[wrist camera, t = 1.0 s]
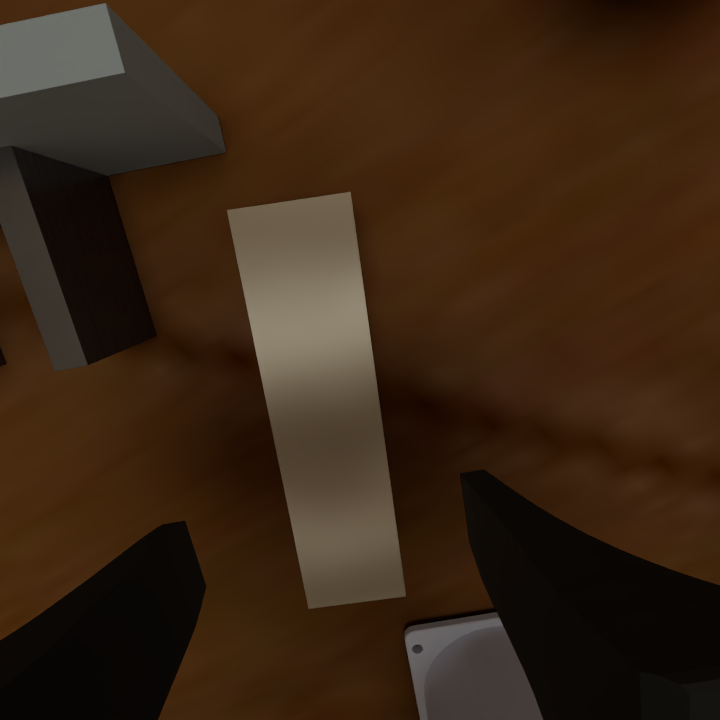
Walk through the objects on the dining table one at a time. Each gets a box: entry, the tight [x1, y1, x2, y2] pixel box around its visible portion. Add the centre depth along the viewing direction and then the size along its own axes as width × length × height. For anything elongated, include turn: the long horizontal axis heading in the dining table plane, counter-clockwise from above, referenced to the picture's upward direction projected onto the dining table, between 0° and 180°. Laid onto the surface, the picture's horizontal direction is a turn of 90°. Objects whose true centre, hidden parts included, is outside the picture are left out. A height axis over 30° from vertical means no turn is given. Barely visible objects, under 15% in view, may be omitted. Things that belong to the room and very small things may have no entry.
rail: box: [227, 192, 406, 609], centre depth 16 cm, size 14×4×4 cm, turn 8°
